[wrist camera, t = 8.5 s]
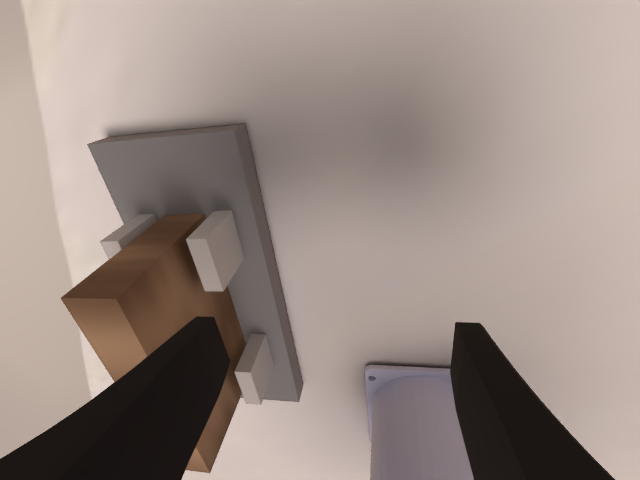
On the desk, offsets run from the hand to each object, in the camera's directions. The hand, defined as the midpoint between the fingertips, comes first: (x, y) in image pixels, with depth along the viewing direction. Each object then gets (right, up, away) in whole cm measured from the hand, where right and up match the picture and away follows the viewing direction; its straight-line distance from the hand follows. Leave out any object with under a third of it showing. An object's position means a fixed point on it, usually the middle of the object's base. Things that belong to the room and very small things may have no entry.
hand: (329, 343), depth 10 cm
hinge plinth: (-7, 0, +12) cm, 14 cm away
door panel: (-7, -1, +11) cm, 13 cm away
